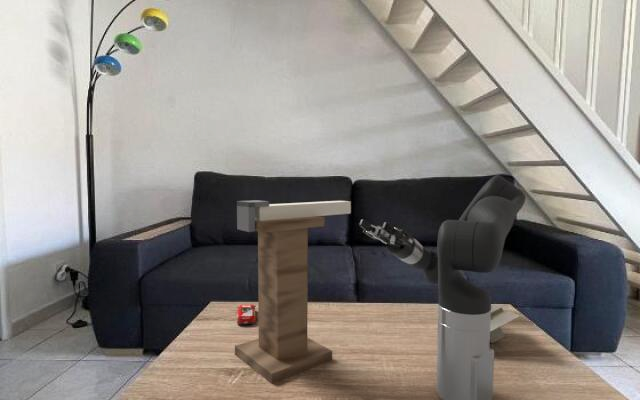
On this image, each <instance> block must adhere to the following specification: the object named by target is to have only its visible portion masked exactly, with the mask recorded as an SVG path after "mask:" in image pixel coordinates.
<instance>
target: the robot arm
mask: <svg viewBox="0 0 640 400" xmlns="http://www.w3.org/2000/svg"><path fill="white" fill-rule="evenodd" d="M526 199H527V197H526V195H525V193H524V192H523V191H522V190H521V189H520V188H519V187H517V186H515V185H514V184H513V183H511V181H509V180H508V179H506V178H505V177H503V176H501V175H499V174H497V175H494V176H492V177H491V178H489V180H488V181H487V182H485V184H483V186H482V187H481V188H480V189H479V191H478V192H477V194H476V195H475V196H474V197H473V199H472V201H470V203H469V204H468V206H467V207H466V209H465V210H464V211H463V213H462V214H461V216H460V217H459V219H446V220H445V221H443V222H442V223H441V225H440V226H439V229H438V233H437V242H436V243H437V247H436V251H435V250H432V249H430V248H426V246H423V245H422V244H421V243H420V242H419V241H418V240H417V239H415V238H414V237H413V236H412V235H411V234H410V233H408V232H407V231H406V230H404V229H401V228H400V229H399V228H398V227H394V226H393V225H391V224H390V223H389V222H388V221H387V222H386V221H385V222H383V224H382V226H380V225H377V226H376V225H373V224H371V223H370V222H369V221H367V220H366V219H365V218H364V219H363V218H362V219H360V222H359V223H358V224H359V227H360V228H362V229H363V230H362V233H364V234H365V235H367V236H368V237H369V238H371V239H373V240H374V241H377V240H378V241H381V242H382V243H383V244H385V248H386V249H387V252H389V253H390V254H391V255H393V256H394V257H396V258H397V259H399V260H400V261H402V262H403V263H406V264H407V265H409V266H410V267H412V268H414V269H416V270H421V271H422V274H423V276H424V278H425V280H426V281H427V282H428V283H429V284H430V285H434V286H435V285H437V290H438V305H437V306H438V307H437V308H438V309H437V313H438V314H437V340H436V341H437V346H436V351H437V352H436V377H435V378H436V379H435V382H436V388H435V389H436V394H437V395H438V397H439V398H440V399H441V400H493V398H494V397H493V396H494V375H495V374H494V370H495V369H494V366H495V350H494V349H492V348H491V347H490V343H491V342H490V321H491V305H492V298H491V294H490V293H489V292H488V291H487V290H485V289H484V288H482V287H480V286H478V285H476V284H474V283H472V282H471V281H469V280H468V279H467V278H465V276H463V274H461V272H460V271H464V272H465V271H466V272H472V273H481V274H487V273H491V272H493V271H495V270H496V269H497V267H498V265H499V264H500V261H501V259H502V255H503V250H504V246H505V242H506V238H507V236H508V235H509V233H510V231H511V229H512V227H513V225H514V222H515V218H516V216H517V214H518V213H519V212H520V210H522V208H523V206H524V205H525V203H526V201H527V200H526ZM379 230H380V231H379Z"/></svg>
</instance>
